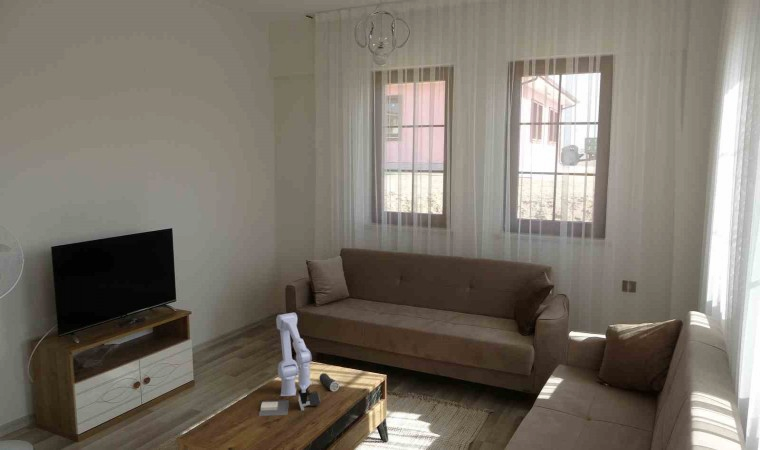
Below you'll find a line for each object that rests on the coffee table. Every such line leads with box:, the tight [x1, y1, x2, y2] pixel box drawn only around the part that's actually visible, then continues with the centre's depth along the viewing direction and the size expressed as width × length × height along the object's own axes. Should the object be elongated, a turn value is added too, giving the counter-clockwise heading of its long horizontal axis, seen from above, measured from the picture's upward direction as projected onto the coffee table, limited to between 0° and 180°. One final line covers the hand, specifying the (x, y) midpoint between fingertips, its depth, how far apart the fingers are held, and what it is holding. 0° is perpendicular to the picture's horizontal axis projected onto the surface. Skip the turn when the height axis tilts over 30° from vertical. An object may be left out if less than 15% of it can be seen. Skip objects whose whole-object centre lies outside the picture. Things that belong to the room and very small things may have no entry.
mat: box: [258, 400, 290, 417], centre depth 286 cm, size 16×14×1 cm
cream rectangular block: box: [260, 401, 278, 411], centre depth 285 cm, size 6×2×8 cm
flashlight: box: [318, 372, 340, 392], centre depth 314 cm, size 15×5×5 cm, turn 31°
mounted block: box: [297, 390, 321, 411], centre depth 287 cm, size 8×10×6 cm
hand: (304, 400), depth 287 cm, fingers open, 7 cm apart
